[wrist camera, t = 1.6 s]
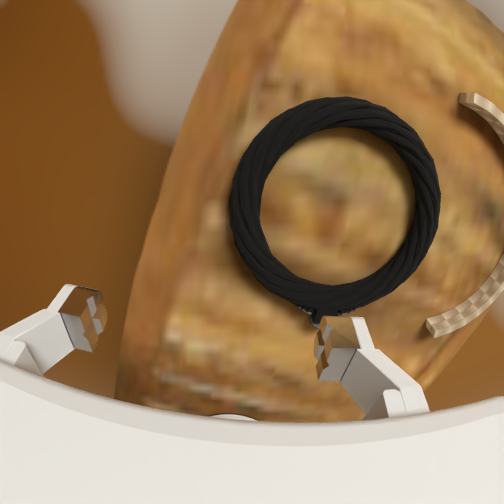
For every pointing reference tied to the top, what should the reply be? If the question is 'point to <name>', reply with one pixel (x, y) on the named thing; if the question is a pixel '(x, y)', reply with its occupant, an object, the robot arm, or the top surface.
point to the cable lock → (263, 160)
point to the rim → (500, 276)
